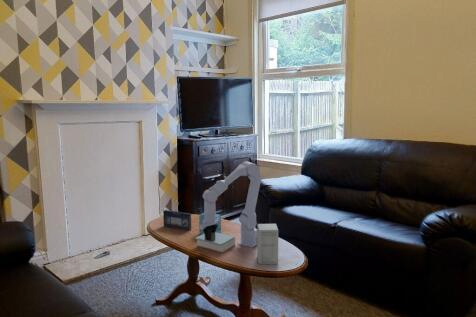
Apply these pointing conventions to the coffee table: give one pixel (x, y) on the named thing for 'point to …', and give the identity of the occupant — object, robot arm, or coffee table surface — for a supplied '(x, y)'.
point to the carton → (216, 246)
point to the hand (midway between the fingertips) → (209, 239)
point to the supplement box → (267, 243)
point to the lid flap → (216, 238)
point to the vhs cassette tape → (177, 220)
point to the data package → (218, 230)
